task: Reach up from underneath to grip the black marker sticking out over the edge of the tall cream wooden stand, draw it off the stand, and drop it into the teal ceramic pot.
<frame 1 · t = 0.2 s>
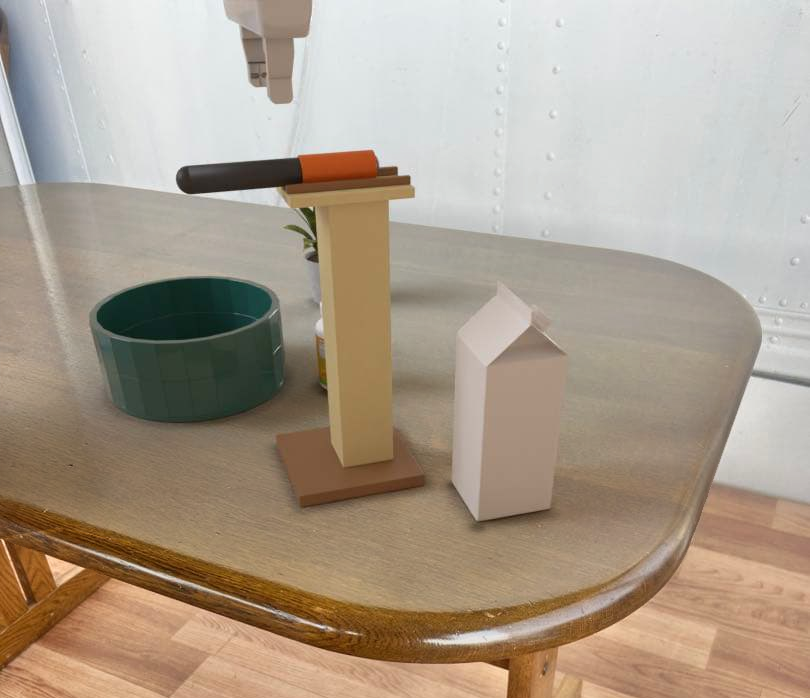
hand: (269, 94, 67), 31 cm above the table, tool pointing down, fingers open, 8 cm apart
stand: (347, 464, 80), on the table
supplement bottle: (342, 384, 95), on the table
milk carton: (499, 498, 75), on the table
pot: (198, 380, 96), on the table
house plant: (331, 304, 116), on the table
marker: (282, 188, 64), point 26 cm above the table, touching stand
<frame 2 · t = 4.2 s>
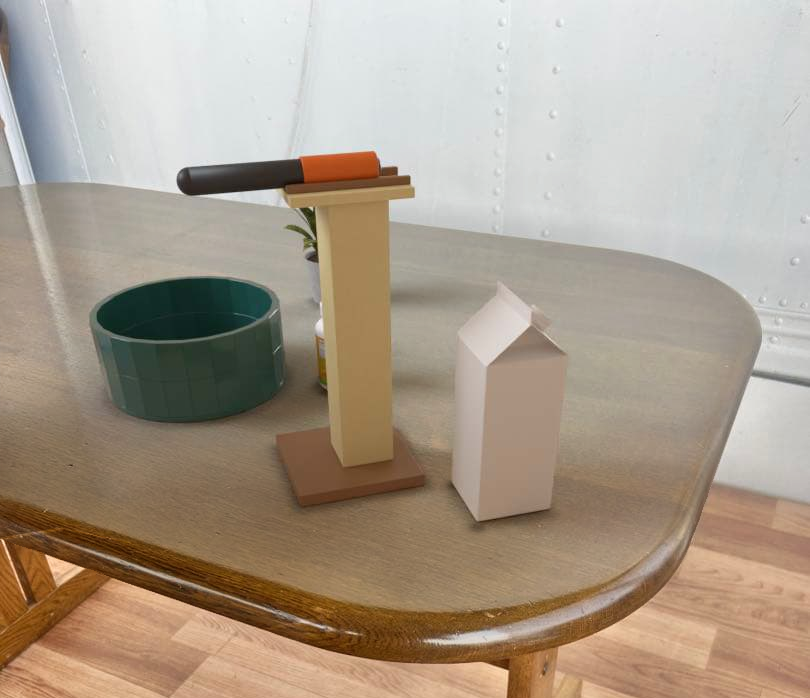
marker: (282, 187, 64), point 26 cm above the table, tilted 22°, touching stand
everything else where it was.
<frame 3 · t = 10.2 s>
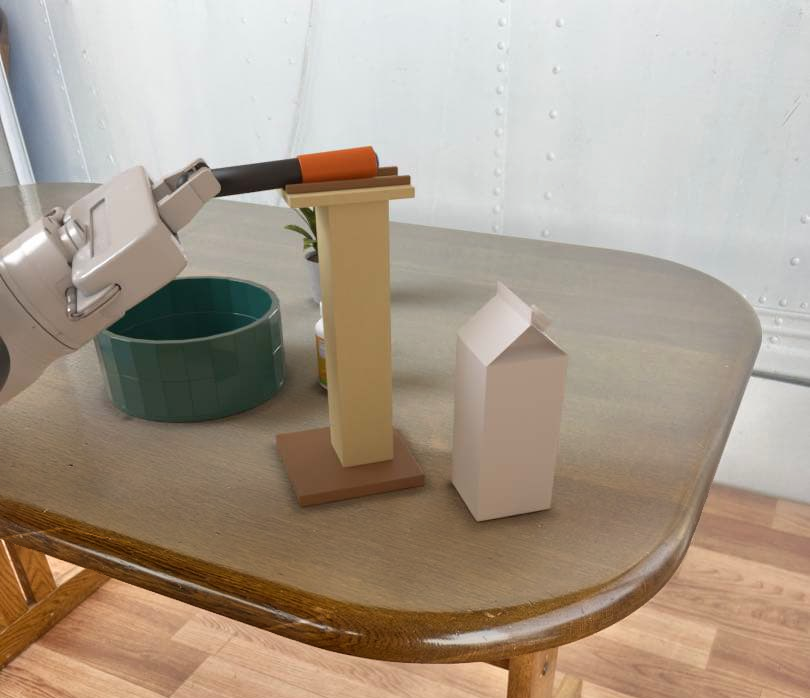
hand: (212, 171, 61), 28 cm above the table, tool pointing upward, fingers closed on marker, 2 cm apart
marker: (282, 189, 64), point 26 cm above the table, touching gripper, stand
everything else where it was.
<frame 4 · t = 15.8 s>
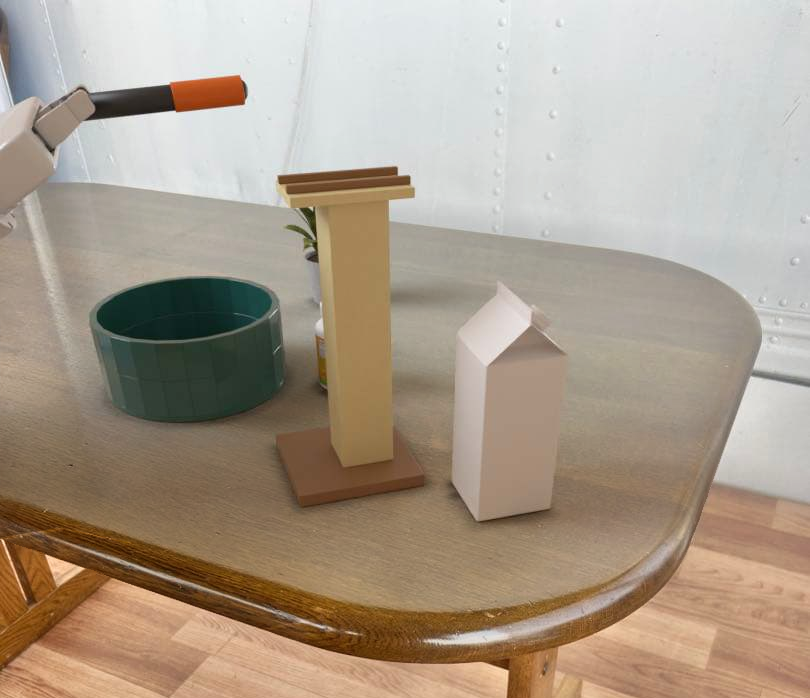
hand: (89, 95, 68), 31 cm above the table, tool pointing upward, fingers closed on marker
marker: (158, 114, 70), point 30 cm above the table, touching gripper
everything else where it was.
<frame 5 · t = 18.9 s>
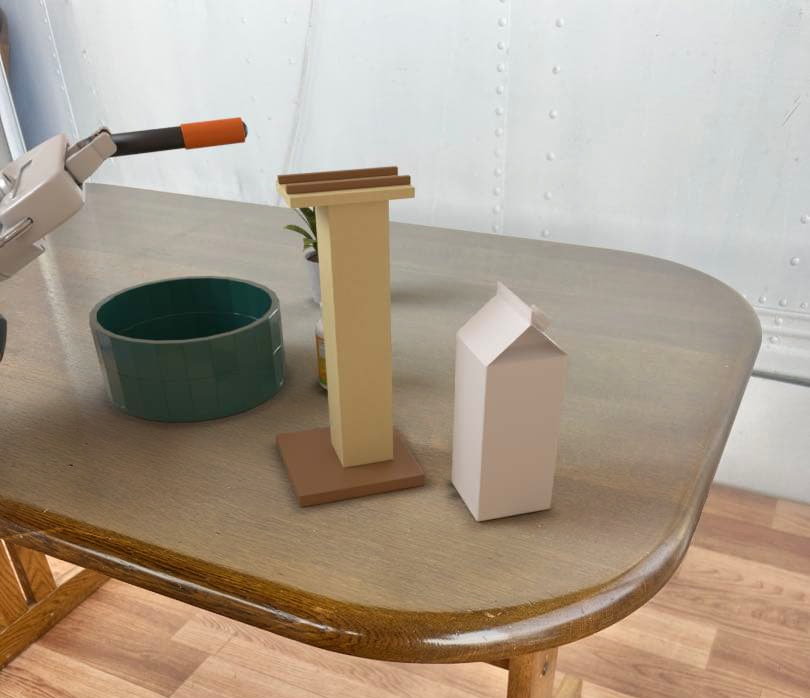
hand: (111, 136, 79), 27 cm above the table, tool pointing upward, fingers closed on marker, 2 cm apart
marker: (170, 151, 81), point 25 cm above the table, touching gripper
everything else where it was.
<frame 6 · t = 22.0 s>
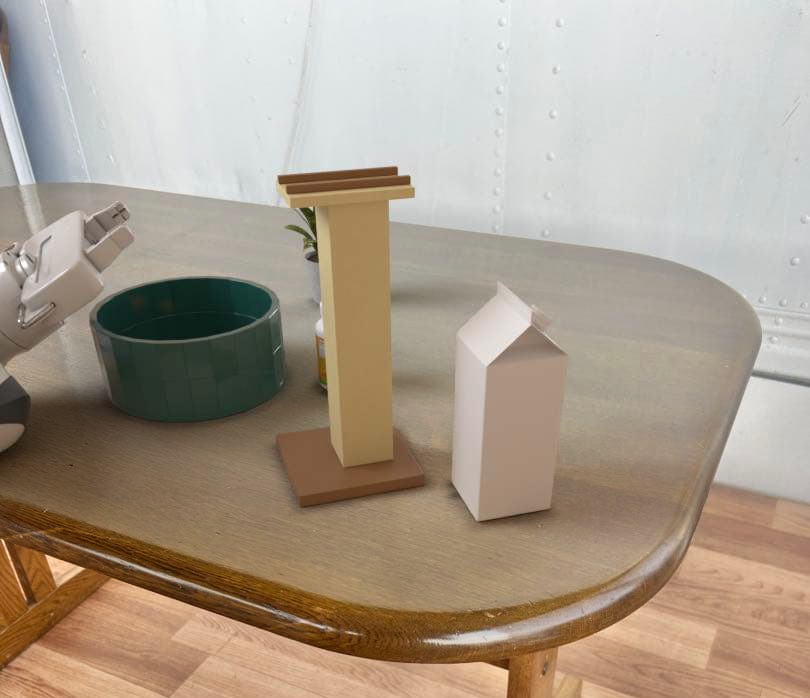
hand: (127, 218, 83), 19 cm above the table, tool pointing upward, fingers open, 8 cm apart
marker: (205, 374, 96), point 1 cm above the table, tilted 6°, touching pot
everything else where it was.
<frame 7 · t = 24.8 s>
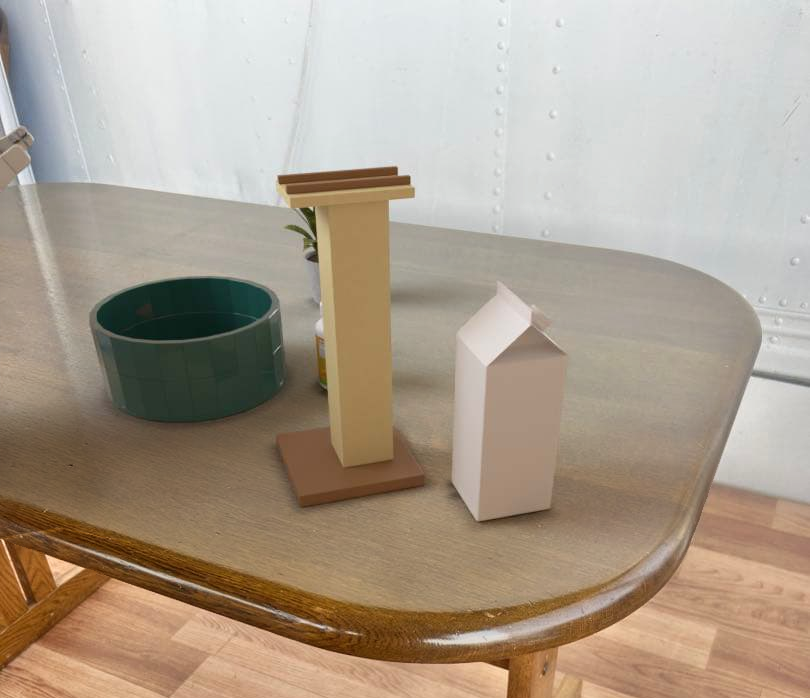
hand: (27, 142, 75), 27 cm above the table, tool pointing upward, fingers open, 8 cm apart
marker: (199, 347, 96), point 3 cm above the table, tilted 160°, touching pot
everything else where it was.
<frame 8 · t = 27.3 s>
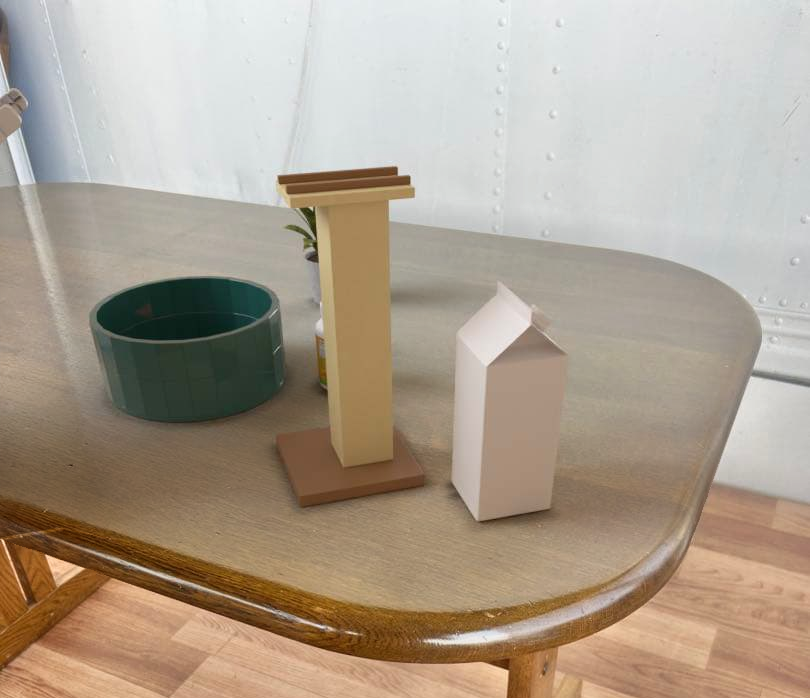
hand: (19, 104, 70), 30 cm above the table, tool pointing upward, fingers open, 8 cm apart
nothing on the table moved.
at the end: marker inside the target area in the pot (3.0 cm from its centre), point 2.8 cm above the pot's base; the gripper is holding nothing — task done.
